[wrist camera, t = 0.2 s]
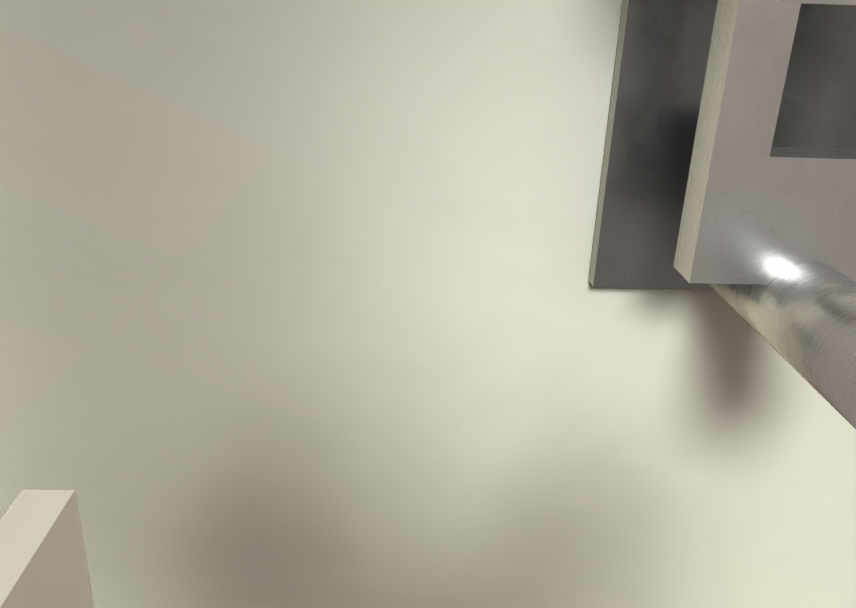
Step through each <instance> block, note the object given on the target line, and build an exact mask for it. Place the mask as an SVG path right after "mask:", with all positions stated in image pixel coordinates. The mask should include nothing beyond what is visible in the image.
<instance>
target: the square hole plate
mask: <svg viewBox="0 0 856 608" xmlns="http://www.w3.org/2000/svg"><path fill="white" fill-rule="evenodd" d="M589 282H590V284H591V285H592V287H599V288H652V289H705V290H715V291H716V292H717V293H718V294H719V295H720V296H721V297H722V298H723V299H724V300H725V301H726V302H727V303H728V304H729V305H730V306H731V307H732V308H733V309H734V310H735V311H736V312H737V313H738V314H740V315H741V316H742V317H743V318H744V319H745V320H746V321H747V322H748V323H749V324H750V325H751V326H752V327H753V328H754V329H755V330H756V331H757V332H758V333H759V334H760V335H761V336H762V337H763V338H764V339H765V340H766V341H767V342H768V343H769V344H770V345H771V346H772V347H773V348H774V349H775V350H776V351H777V352H778V353H779V354H780V355H781V356H782V357H783V358H784V359H785V360H786V361H787V362H788V363H789V364H790V365H791V366H792V367H793V368H794V369H795V370H796V371H797V372H798V373H799V374H800V375H801V376H802V377H803V378H804V379H805V380H806V381H807V382H808V383H809V384H810V385H811V386H812V387H813V388H814V389H815V390H816V391H817V392H818V393H819V394H821V395H822V396H823V397H824V398H825V399H826V400H827V401H828V402H829V403H830V404H831V405H832V406H833V407H834V408H835V409H836V410H837V411H838V412H839V413H840V414H841V415H842V416H843V417H844V418H845V419H846V420H847V421H848V422H849V423H850V424H851V425H852V426H853V427H854V428H855V429H856V0H623V2H622V10H621V18H620V26H619V35H618V43H617V51H616V59H615V67H614V75H613V84H612V92H611V100H610V108H609V116H608V125H607V133H606V141H605V149H604V157H603V165H602V174H601V182H600V190H599V198H598V206H597V214H596V223H595V231H594V239H593V247H592V255H591V264H590V272H589Z"/></svg>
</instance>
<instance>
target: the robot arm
mask: <svg viewBox="0 0 856 608" xmlns="http://www.w3.org/2000/svg"><path fill="white" fill-rule="evenodd" d="M0 608H94V603H93V597H92V591H91V585H90V579H89V573H88V567H87V561H86V555H85V549H84V543H83V537H82V531H81V525H80V519H79V513H78V507H77V501H76V496H75V490H22V491H21V492H20V493H19V495H18V496H17V497H16V499H15V500H14V501H13V503H12V504H11V506H10V507H9V508H8V510H7V511H6V512H5V514H4V515H3V516H2V518H1V519H0Z"/></svg>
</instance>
